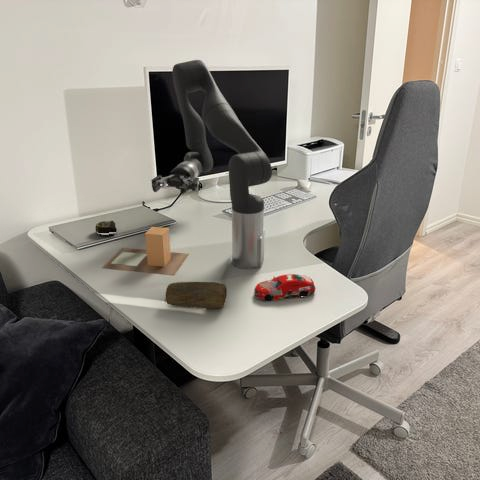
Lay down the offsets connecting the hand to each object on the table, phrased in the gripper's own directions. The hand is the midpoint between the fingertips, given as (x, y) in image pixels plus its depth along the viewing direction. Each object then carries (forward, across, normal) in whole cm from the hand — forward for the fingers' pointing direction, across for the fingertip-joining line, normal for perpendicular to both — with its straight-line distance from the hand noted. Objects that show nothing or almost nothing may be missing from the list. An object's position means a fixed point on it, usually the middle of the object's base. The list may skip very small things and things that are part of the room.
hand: (168, 190), depth 138 cm
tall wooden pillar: (+11, 0, +18) cm, 22 cm away
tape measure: (-9, -26, +21) cm, 35 cm away
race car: (+19, +38, +20) cm, 47 cm away
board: (+11, -4, +20) cm, 23 cm away
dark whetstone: (+30, +17, +20) cm, 40 cm away
